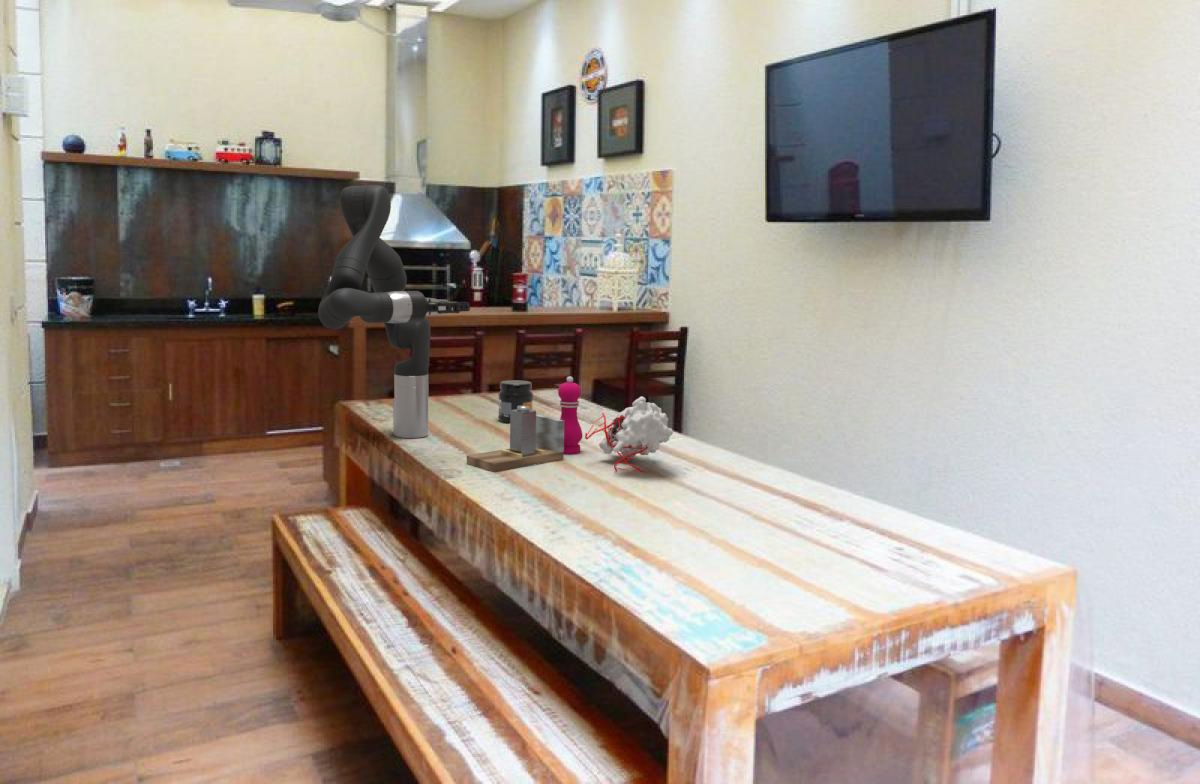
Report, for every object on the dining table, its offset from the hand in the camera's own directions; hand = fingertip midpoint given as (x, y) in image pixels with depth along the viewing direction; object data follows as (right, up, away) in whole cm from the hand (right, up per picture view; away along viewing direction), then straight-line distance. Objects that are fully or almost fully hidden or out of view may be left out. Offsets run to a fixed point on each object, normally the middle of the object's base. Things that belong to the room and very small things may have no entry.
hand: (458, 305), depth 233 cm
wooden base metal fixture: (+14, -39, 0) cm, 41 cm away
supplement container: (+9, -31, +54) cm, 63 cm away
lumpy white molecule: (+43, -40, -2) cm, 59 cm away
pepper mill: (+27, -37, +13) cm, 48 cm away
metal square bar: (+16, -37, 0) cm, 40 cm away
